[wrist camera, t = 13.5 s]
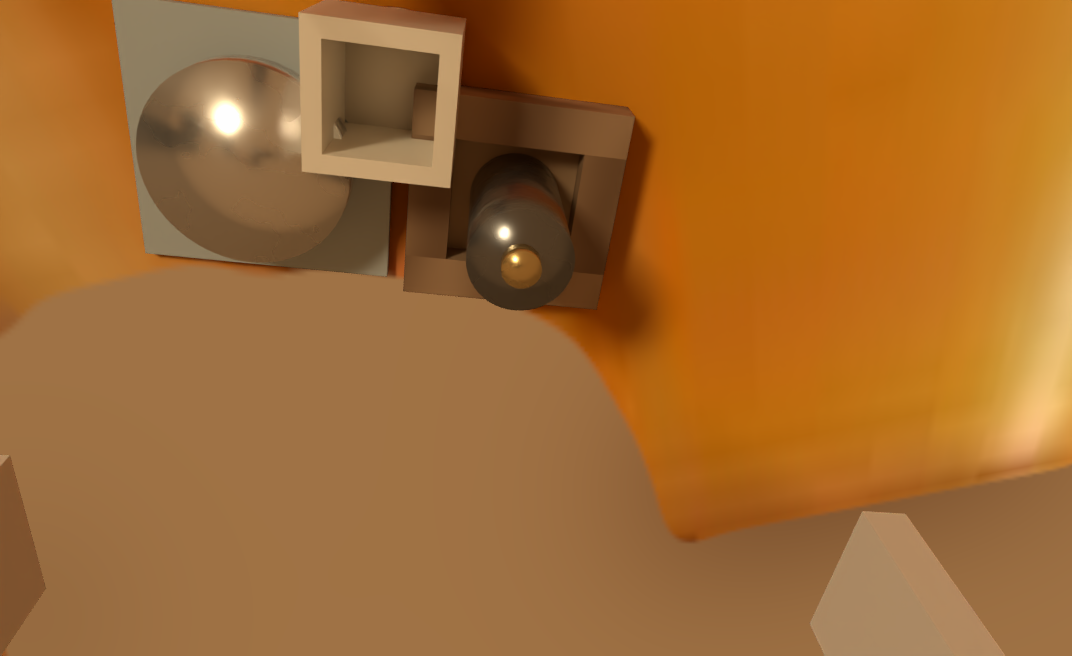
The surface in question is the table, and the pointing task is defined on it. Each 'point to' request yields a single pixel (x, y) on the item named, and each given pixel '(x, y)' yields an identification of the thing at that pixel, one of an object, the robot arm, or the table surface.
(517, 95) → the brown square tray
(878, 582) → the robot arm
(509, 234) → the cell
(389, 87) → the cup
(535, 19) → the table surface
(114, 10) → the base
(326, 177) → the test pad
